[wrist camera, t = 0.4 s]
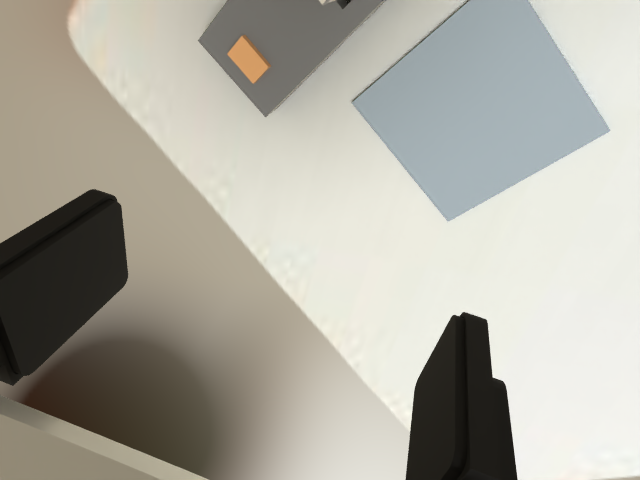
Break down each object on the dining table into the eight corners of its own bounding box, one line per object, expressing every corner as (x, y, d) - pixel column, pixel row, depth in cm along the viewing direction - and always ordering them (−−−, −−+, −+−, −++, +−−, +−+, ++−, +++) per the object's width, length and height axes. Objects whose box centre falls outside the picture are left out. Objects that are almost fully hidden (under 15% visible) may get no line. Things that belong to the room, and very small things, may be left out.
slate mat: (506, -33, 28) (507, -33, 28) (609, 129, 31) (610, 130, 31) (352, 101, 36) (351, 102, 35) (448, 219, 39) (448, 221, 39)
